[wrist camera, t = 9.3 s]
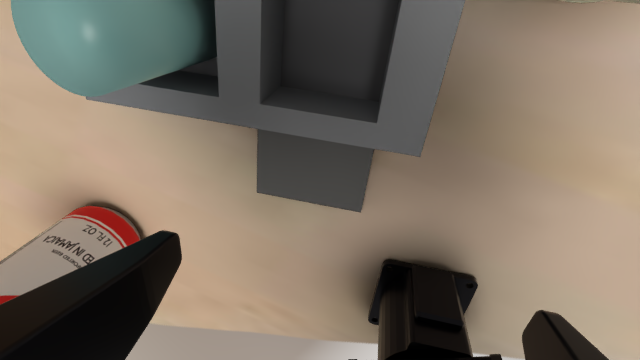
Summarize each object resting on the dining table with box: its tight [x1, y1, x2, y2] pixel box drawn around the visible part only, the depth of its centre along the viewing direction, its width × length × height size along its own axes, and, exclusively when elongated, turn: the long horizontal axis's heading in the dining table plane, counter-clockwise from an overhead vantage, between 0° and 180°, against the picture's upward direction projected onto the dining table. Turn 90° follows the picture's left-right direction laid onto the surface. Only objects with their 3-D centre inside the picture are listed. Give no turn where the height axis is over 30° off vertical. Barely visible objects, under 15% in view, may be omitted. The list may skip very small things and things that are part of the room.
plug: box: [11, 0, 217, 97], centre depth 14 cm, size 4×4×8 cm
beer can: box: [0, 206, 141, 304], centre depth 21 cm, size 6×6×16 cm
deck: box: [257, 129, 374, 212], centre depth 21 cm, size 6×7×1 cm
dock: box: [86, 0, 465, 157], centre depth 15 cm, size 9×17×5 cm, turn 84°
